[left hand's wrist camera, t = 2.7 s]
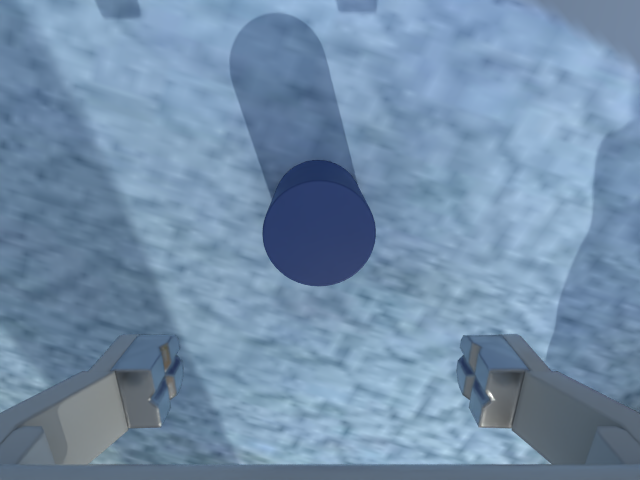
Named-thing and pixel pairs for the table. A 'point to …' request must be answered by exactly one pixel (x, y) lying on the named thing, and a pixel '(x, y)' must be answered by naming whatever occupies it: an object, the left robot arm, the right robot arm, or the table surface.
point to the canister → (318, 225)
